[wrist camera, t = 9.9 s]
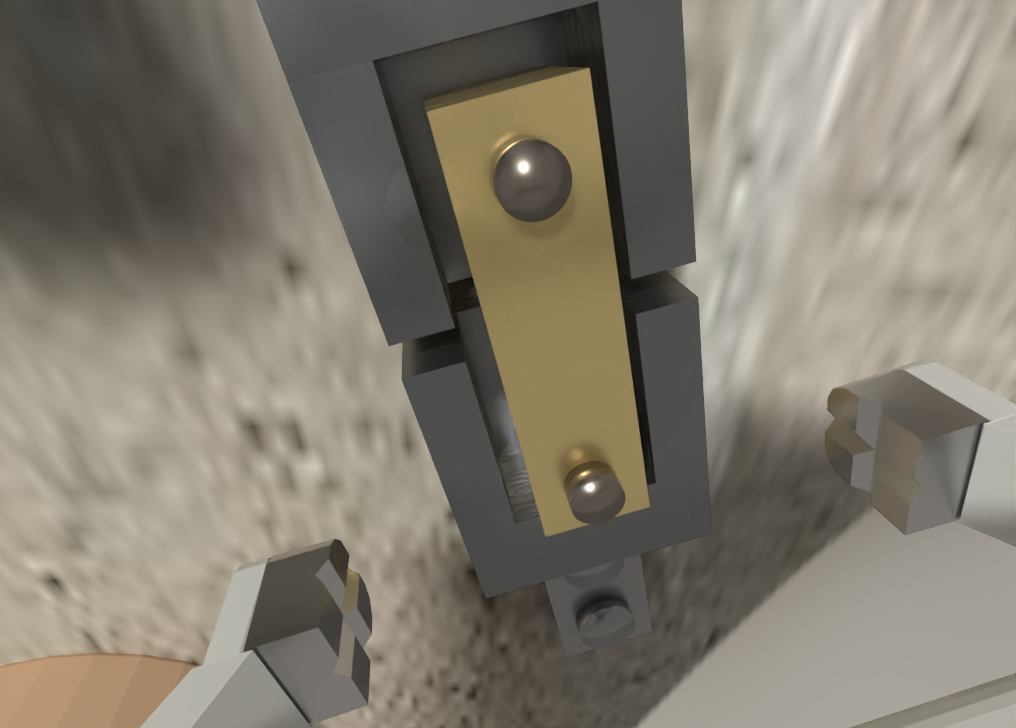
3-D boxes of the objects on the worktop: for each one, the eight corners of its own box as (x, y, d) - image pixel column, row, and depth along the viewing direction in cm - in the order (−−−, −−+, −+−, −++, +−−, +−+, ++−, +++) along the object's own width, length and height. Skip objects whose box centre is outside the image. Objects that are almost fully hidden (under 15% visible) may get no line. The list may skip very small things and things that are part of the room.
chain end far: (678, 587, 26) (718, 666, 23) (516, 633, 26) (532, 720, 23) (642, 251, 18) (697, 296, 14) (403, 316, 18) (401, 379, 14)
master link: (597, 408, 20) (661, 528, 15) (515, 431, 20) (552, 559, 15) (534, 66, 14) (603, 67, 9) (422, 96, 14) (427, 115, 9)
